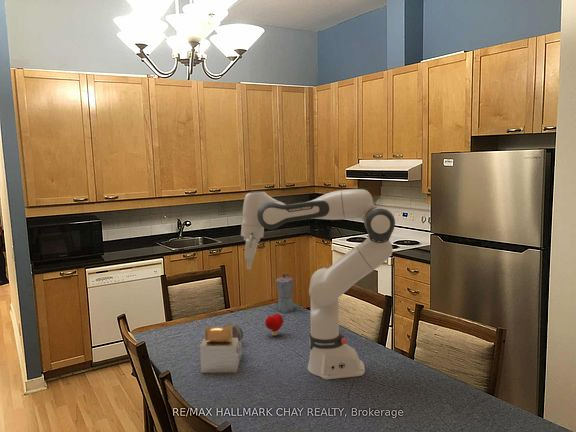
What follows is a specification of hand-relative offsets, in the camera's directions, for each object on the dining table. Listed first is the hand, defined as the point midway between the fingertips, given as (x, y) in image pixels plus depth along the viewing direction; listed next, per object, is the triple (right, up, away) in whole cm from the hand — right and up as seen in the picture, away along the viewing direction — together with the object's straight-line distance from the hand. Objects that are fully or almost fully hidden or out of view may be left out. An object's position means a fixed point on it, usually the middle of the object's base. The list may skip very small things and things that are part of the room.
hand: (249, 266), depth 192 cm
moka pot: (+14, -31, +73) cm, 80 cm away
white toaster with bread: (-12, -41, +8) cm, 43 cm away
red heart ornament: (+9, -36, +36) cm, 52 cm away
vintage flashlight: (-11, -38, +27) cm, 48 cm away
